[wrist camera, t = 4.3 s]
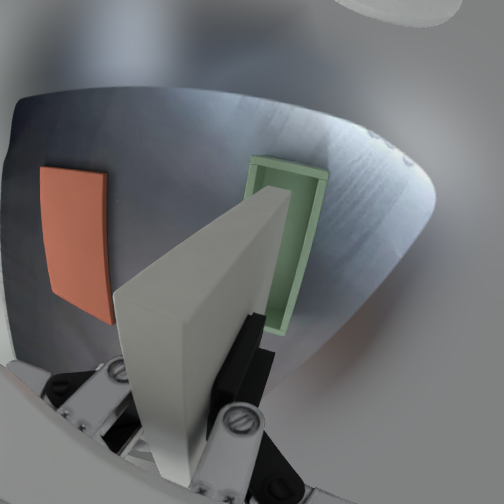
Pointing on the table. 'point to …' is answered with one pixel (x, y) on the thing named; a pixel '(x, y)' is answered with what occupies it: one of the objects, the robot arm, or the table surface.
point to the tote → (289, 229)
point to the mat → (77, 238)
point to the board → (195, 323)
